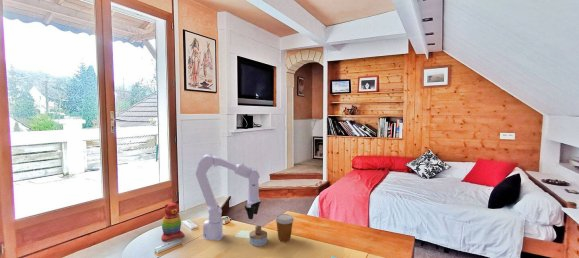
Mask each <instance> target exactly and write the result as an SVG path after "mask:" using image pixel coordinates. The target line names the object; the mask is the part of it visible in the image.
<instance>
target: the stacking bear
mask: <svg viewBox="0 0 579 258" xmlns="http://www.w3.org/2000/svg"><path fill="white" fill-rule="evenodd" d="M164 213H165V215H164V216H163V217H162V222H161V228H162V235H161V241H162V242H164V243H165V242H171V240H174V239H175V240H176V239H181V238H184V237H185V233H184V232H183V231H182V230H181V227H182V219H181V216H180V214H179V206H178V202H177V201H176V202H170V203H168V204H167V203H166V204H165V205H164Z"/></svg>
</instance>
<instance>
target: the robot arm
mask: <svg viewBox="0 0 579 258" xmlns="http://www.w3.org/2000/svg"><path fill="white" fill-rule="evenodd" d="M218 166H220V167H223V168H226V169H229V170H231V171H234V174H236V175H237V176H240V177H243V178H246V179H247V180H248V183H247V203H246V205H245V206H244V209H245V211H246V214H247V217H248V220H253V219H254V215H258V213H259V212H258V211H259V208H260V205H261V203H262V201H261V199H260V196H259V192H260V191H259V188H260V187H259V186H260V185H259V184H260V183H259V179H260V173H259V172H258V170H257V169H256V168H253V167H249V166H247V165H245V164H244V163H238V164H235V163H234V162H232V161H228V160H226V159H224V158H221V156H220V157H219V156H217V155H212V154H211V153H207V154H203V156H202V157H201V159H200V160H199V162H198V164H197V169H196V172H195V176H196V179H197V182H198V185H199V187H200V190H201V192H202V193H201V194H202V195H203V197H204V200H205V203H206V207H207V211H208V219H206V220H205V221H204V222H203V225H202V233H203V234H202V236H203V237H202V240H203V239H204V240H211V241H220V240H221V239H223V238H224V236H226V233H224V232H223V227H224V226H223V218H222V213H223V209H222V208H221V206H220V205H219V203H218V202H217V200H216V198H215V195H214V192H213V190H212V187H211V186H212V185H211V184H210V182H209V178H208V176H207V173H208V171H209V170H210V169H211V168H212V167H214V168H215V167H218Z"/></svg>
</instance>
